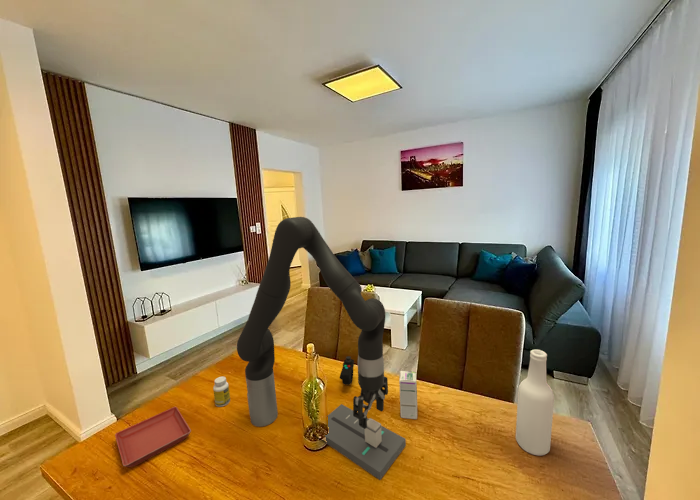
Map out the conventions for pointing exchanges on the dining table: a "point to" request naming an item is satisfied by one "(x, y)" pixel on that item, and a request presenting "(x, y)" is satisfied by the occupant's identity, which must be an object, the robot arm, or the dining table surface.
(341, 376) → the controller
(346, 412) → the console
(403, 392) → the syrup box
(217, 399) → the supplement bottle
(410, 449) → the dining table surface
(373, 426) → the fader tab
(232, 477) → the dining table surface
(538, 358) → the alcohol
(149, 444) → the plant saucer
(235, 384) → the dining table surface
